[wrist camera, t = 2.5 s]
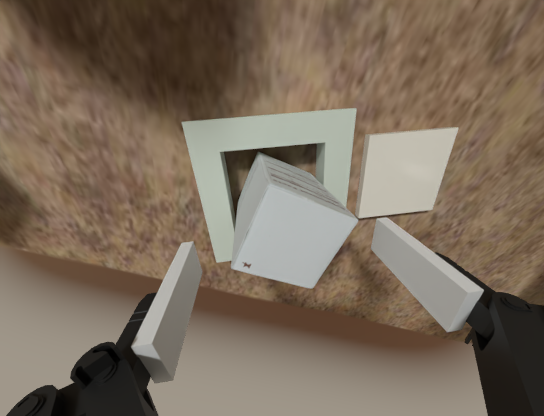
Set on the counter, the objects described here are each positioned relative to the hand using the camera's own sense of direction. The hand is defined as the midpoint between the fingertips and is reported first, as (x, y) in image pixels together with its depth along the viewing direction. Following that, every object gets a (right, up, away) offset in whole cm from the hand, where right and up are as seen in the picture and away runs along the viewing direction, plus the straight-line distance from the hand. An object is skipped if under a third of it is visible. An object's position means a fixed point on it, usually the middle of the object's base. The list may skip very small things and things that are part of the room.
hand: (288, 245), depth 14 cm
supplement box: (-1, +5, +11) cm, 13 cm away
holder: (-1, +5, +11) cm, 12 cm away
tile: (+16, +7, +12) cm, 21 cm away
